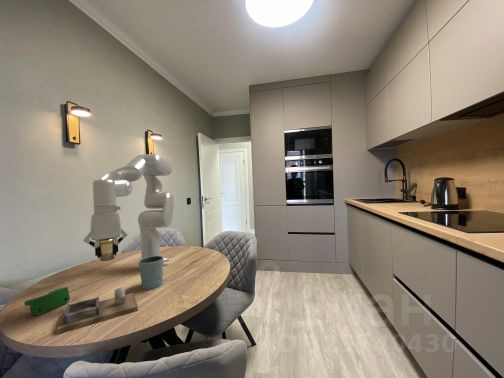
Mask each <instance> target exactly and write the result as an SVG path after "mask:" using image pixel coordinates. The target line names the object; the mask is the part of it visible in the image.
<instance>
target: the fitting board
mask: <svg viewBox="0 0 504 378" xmlns="http://www.w3.org/2000/svg"><path fill="white" fill-rule="evenodd" d="M125 289H126V288H125V287H118V288H116V289H115V290H114V297H112V298H109V299H105V300H100V297H99V296H97V297H93V298H89V299H86V300H81V301H77V302H72V303H69V304H68V303H67V305H66V308H65V310H62V313H61V316H60V319H59V321H58V325H57V327H56V335H60V334H64V333H66V332H70V331H73V330H77V329H79V328H83V327H84V328H85V327H87V326H90V325H93V324H98V323H100V322H104V321H107V320H112V319H115V318H117V317H120V316H124V315H128V314H131V313H133V312H137V311H138V310H139V309H138V304H137V300H136V297H135V293H134V292H132V293H128V294H125V293H126V292H125V291H126V290H125Z"/></svg>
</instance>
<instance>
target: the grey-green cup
mask: <svg viewBox="0 0 504 378" xmlns="http://www.w3.org/2000/svg"><path fill="white" fill-rule="evenodd" d="M163 258H164V256H162V255H160V256H150V257H145V258H143V259H142V258H141V259H139V260H138V270H139V269H140V270H139V272H140V273H139V274H140V275H139V276H140V280H141V281H140V283H141V288H142V289H143V290H146V291H150V290H155V289H158V288H161V286H162V285H163V284H164V282H163V281H164V279H163V277H164V276H163V275H164V269H163V268H164V266H163Z"/></svg>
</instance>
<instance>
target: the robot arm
mask: <svg viewBox="0 0 504 378" xmlns="http://www.w3.org/2000/svg"><path fill="white" fill-rule="evenodd" d="M172 171H173V167H172V164H171V162H170V161H169V160H167V159H166V158H165V157H163V156H161V155H159V154H158V153H157V154H156V153H154V154H153V153H152V154H149V153H148V154H145V153H144V154H139V155H137V156H135V157H134V158H133V159H132V160H131V161H129V163H127V164H126V165H124V166H121V167H120V168H116V169H115V170H112V171H109V172H108V173H106V174H104V175H102V177H100V178H98V179H94V181H93V183H92V197H93V200H92V201H93V214H91V218H90V232H89V233H88V234H87V235H86V236H85V237H84V239H83V242H84V243H86V244H89V245H90V246H91V247H93V248H94V253H95V254H94V255H95V257H97V259H100V250H99V241H100V240H104V239H112V238H113V239H114V255H115V256H117V255H118V254H117V253H119V244H120V243H121V242H122V241H123V240H124V239H125V238H127V237H128V233H127V232H126V231H124V230H123V229H122V227H121V226H122V225H121V224H122V223H121V218H120V213H119V212H118V211H120V210H121V206H118V205H117V198H121V197H123V198H124V197H128V196H130V194H131V193H132V192H133V184H132V182H135V181H138V180H140V179H141V178H142V177H143V178H144V180H145V183H146V187H145V188H146V189H145V195H144V201H143V205H144V207H145V208H147V209H150V210H144V211H142V212H140V213H139V214H138V217H137V223H138V227H139V233H140V249H141V251H140V252H141V253H140V254H141V255H140V256H141V259H143V258H145V257H150V256H161V239H160V232H159V231H158V228H167V227H170V226H171V225H172V220H173V214H174V212H173V211H174V204H175V199H174V195H173V193H172V192H169V191H163V183H162V182H161V180H160V179H159V178H158V177H165V176H170V175H171V174H172V173H173V172H172ZM152 209H153V210H152ZM156 209H157V210H156ZM158 209H159V210H158ZM165 262H166V263H167V262H170V257H163V267H165V266H164V263H165ZM138 271H140V269H139V268H138Z"/></svg>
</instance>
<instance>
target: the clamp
mask: <svg viewBox="0 0 504 378" xmlns="http://www.w3.org/2000/svg"><path fill="white" fill-rule="evenodd" d="M70 299H71V297H70V291H69V287H68V286H65V287H60V288H56V289H53V290H52V291H50V292H48V293H47V294H44V295H41V296H38V297H34V298H31V299H28V300H25V301H24V307H26V306H28V307H29V310H30V314H31V315H32V316H34V317H35V316H39V315H43V314H45V313H47V312H49V311H51V310H54V309H56V308H58V307H60V306H62V305H64V304H68V303H69V302H70Z"/></svg>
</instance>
